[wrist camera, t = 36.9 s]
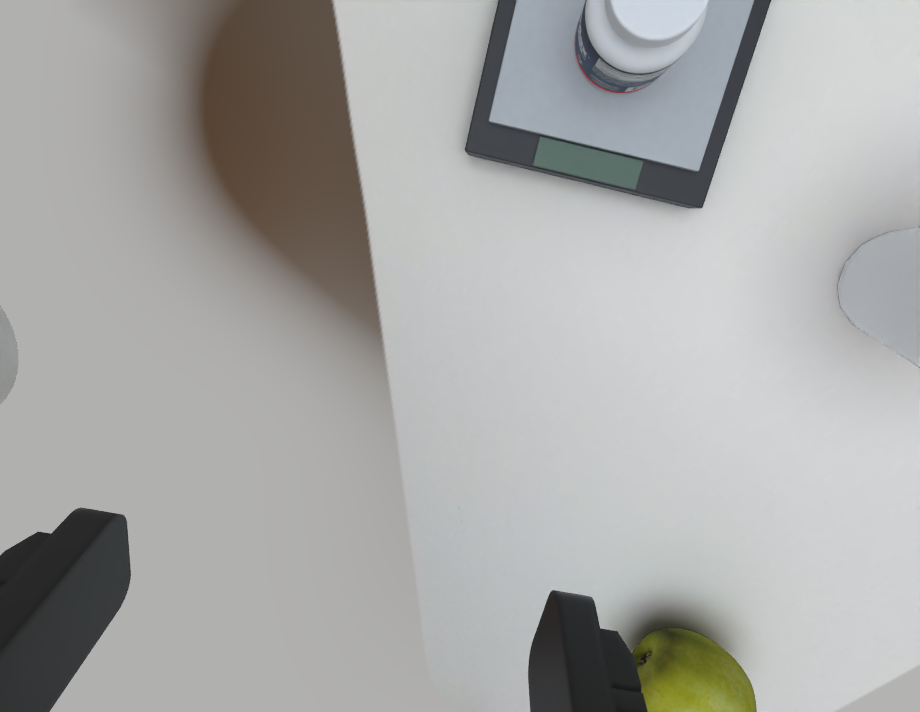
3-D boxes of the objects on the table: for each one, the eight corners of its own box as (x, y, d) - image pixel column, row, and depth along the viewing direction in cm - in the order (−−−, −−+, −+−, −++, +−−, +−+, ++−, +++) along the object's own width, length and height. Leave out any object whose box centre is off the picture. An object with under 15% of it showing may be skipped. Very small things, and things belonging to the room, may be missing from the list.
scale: (467, 154, 37) (463, 149, 34) (521, -83, 33) (522, -111, 31) (690, 208, 36) (705, 208, 33) (767, -27, 33) (791, -50, 30)
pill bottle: (590, -24, 31) (618, -112, 23) (687, 1, 31) (753, -78, 22) (560, 82, 33) (576, 37, 24) (653, 107, 32) (703, 71, 24)
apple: (681, 722, 45) (716, 828, 37) (592, 650, 44) (608, 743, 36) (760, 659, 43) (813, 757, 35) (668, 582, 42) (702, 666, 35)
